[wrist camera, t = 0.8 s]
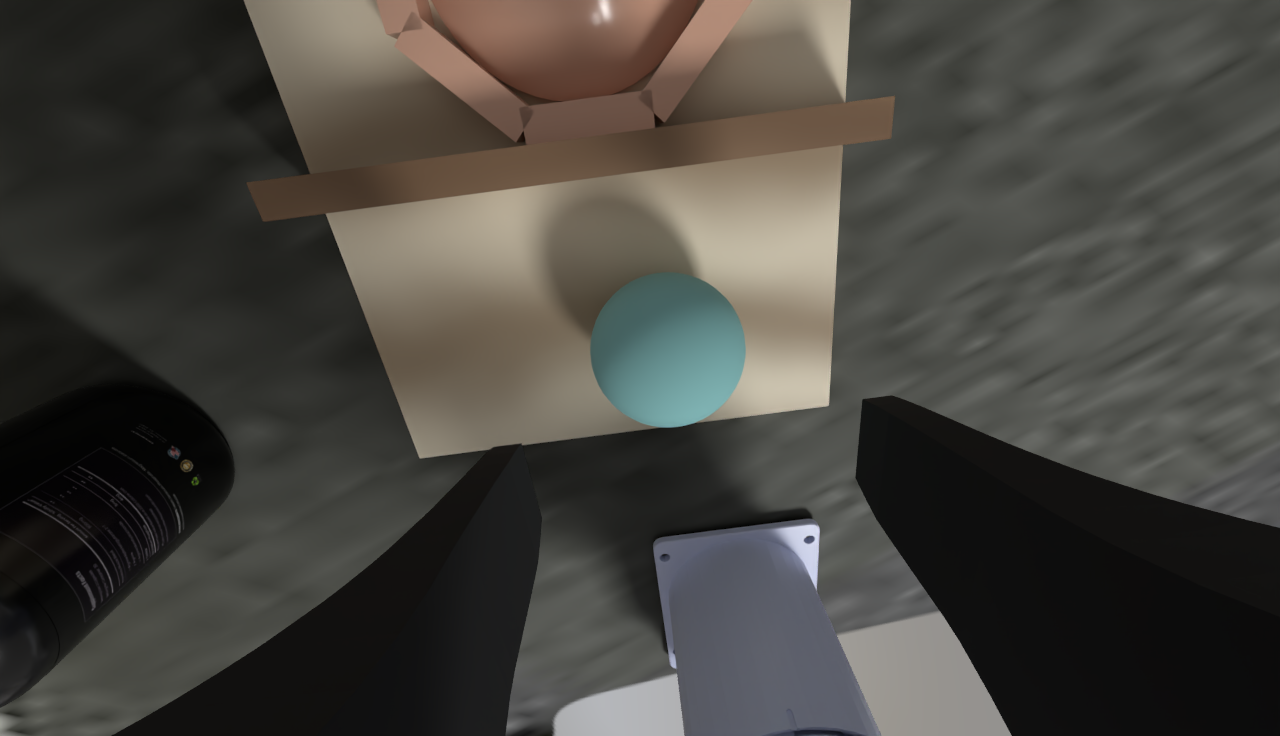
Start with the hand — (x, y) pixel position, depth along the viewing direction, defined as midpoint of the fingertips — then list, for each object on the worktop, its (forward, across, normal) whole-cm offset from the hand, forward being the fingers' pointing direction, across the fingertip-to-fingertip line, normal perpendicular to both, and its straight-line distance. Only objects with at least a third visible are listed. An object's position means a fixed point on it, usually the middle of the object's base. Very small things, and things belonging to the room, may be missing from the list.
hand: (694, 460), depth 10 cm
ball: (+9, 0, 0) cm, 9 cm away
